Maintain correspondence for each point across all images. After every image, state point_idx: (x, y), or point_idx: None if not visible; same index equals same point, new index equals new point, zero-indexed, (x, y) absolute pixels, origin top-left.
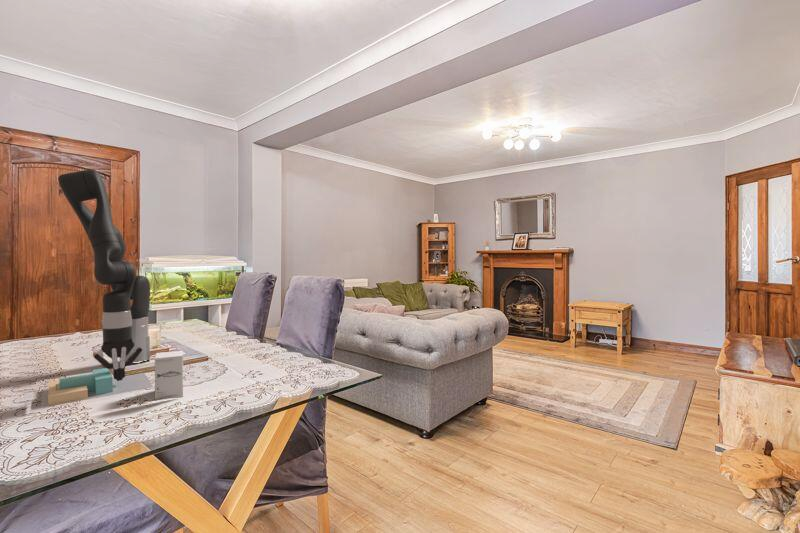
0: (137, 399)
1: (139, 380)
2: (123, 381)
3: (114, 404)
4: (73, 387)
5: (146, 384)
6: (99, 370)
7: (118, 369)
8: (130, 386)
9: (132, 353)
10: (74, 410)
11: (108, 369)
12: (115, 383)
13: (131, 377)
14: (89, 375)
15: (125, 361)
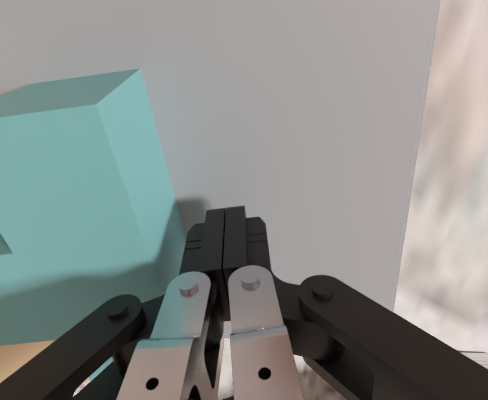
0: (303, 373)
1: (357, 169)
2: (254, 134)
3: (223, 384)
4: None
5: (374, 271)
6: (32, 182)
7: (225, 318)
8: (291, 264)
9: (415, 385)
10: (89, 381)
11: (121, 187)
12: (202, 159)
13: (318, 37)
14: (8, 301)
15: (294, 318)
